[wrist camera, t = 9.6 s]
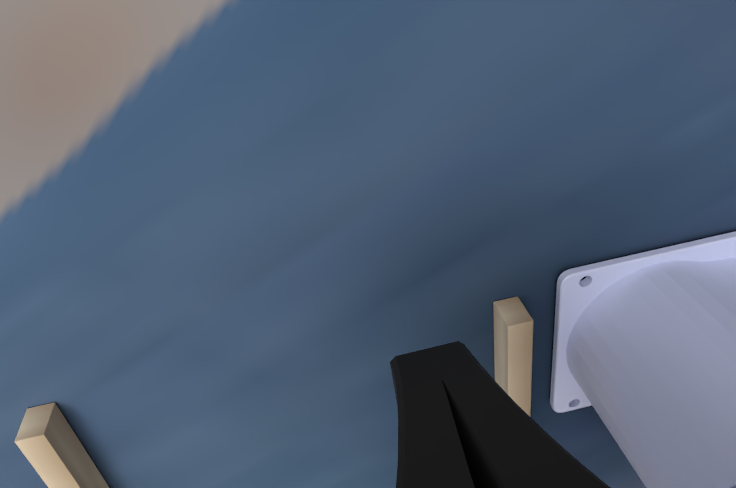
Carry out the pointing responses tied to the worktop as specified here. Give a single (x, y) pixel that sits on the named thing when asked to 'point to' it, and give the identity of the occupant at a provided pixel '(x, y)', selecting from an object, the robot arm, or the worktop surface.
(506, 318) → the bay
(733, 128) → the worktop surface
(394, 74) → the worktop surface
